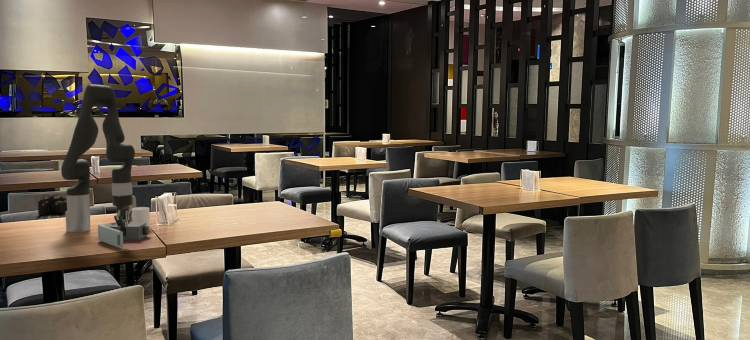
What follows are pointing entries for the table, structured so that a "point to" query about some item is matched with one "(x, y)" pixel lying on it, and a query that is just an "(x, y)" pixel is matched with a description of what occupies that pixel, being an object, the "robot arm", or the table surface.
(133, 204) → the carving
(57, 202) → the film camera
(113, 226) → the camera housing
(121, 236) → the side door
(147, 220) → the white cup
